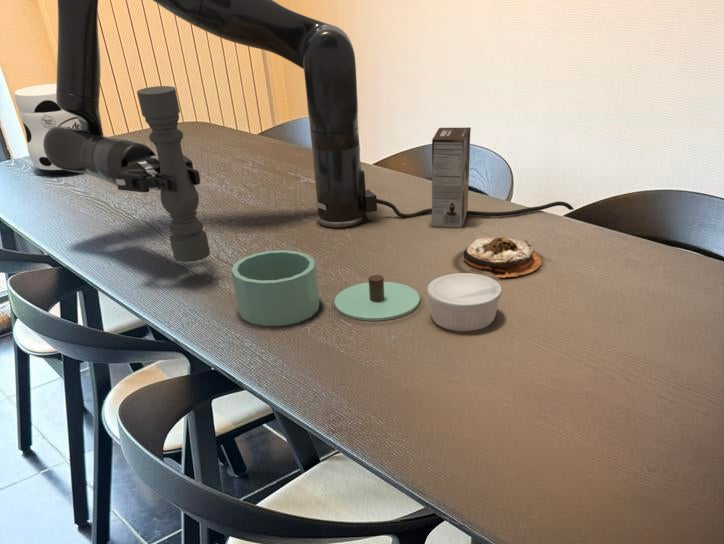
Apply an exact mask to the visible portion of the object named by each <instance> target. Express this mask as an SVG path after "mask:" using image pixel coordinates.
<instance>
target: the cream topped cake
mask: <svg viewBox="0 0 724 544" xmlns="http://www.w3.org/2000/svg"><path fill="white" fill-rule="evenodd" d="M534 250H535V249H534V247H533V244H530V243H529V240H526V239H520V238H517V237H512V236H490V237H489V236H488V237H480V238H476V239H474V240H473V241H471V242H470V243H468V245H467V246H466V248H465V250H464V251H463V259H464V260H463V262H464V263H465V264H466V265H468V266H469V267H471V268H473V269H478V270H481V271H485V272H489V273H490V274H492V275H493V276H494V277H496V278H497V279H502V278H503V279H505V278H507V277H508V278H511V277H519V276H524V275H527V274H530V273H533V272H534V271H536V270H538V268H539V267H540V266H541V264H542V258H541V257H540V256H539V254H538V253H536V252H535V251H534Z"/></svg>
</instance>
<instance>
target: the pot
mask: <svg viewBox="0 0 724 544" xmlns="http://www.w3.org/2000/svg"><path fill="white" fill-rule="evenodd" d="M230 272H231V277H232V282H233V289H234V292H235V293H234V294H235V299H236V303H237V304H236V305H237V310H238V314H239V315H240V317H241V319H242V320H243V321H245V322H248V323H250V324H252V325H257V326H262V327H284V326H289V325H293V324H297V323H301V322H303V321H305V320H308V319H310V318H312V317H313V316H314V315H315V314H316V313H317V312H318V311H319V310H320V308H319V307H320V302H321V301H320V294H319V284H318V274H317V264H316V260H315V259H314V258H313V257H312V256H311V255H310V254H307V253H304V252H302V251H296V250H288V249H284V250H283V249H282V250H281V249H279V250H267V251H262V252H257V253H253V254H251V255H247V256H244V257H242V258H240V259H239V260H237V261H236V262H235V263H234V264H233V266H232V268H231V271H230Z"/></svg>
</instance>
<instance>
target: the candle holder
mask: <svg viewBox="0 0 724 544" xmlns="http://www.w3.org/2000/svg"><path fill="white" fill-rule="evenodd" d="M136 95H137V98H138V99H137V100H138V102H139V107H140V112H141V115H142V117H144V119H145V123H147V124H148V126H149V128H150V129H151V130H152V131H151V132H150V134H149V135H148V139H149V141H150V142H151V143H153V146H155V149H156V155H157V156H158V158H159V163H160V173H161V174H163V175H168V176H171V177H174V179H175V182H176V187H177V191H176V192H173V193H172V192H169V191H165V190H162V189H160V202H161V205H162V207H163V208H164V210H165V211H166V212H167V213H169V217H170V218H171V221H170V225H169V227H168V231H169V233H170V235H169V241H170V246H171V250H172V254H173V258H174V260H176V261H178V262H181V263H192V262H198V261H202V260H205V259H207V258H208V257H209V256H210V255H211V249H210V245H209V240H208V235H207V232H206V231H205V230H204V223H203V222H202V221H201V220H200V219H199V218H198V217H197V212H198V211H197V209H198V207H199V202H200V196H199V193H198V189H197V188H196V185H193V183H192V180H191V177H190V175H189V172H188V169H187V167H186V165H185V162H184V158H183V155H184V154H183V148H182V144H181V143H182V140H183V138H184V132H182V131H181V130H180V129H179V128H178V124H179V120H180V113H181V109H180V105H179V99H178V95H177V90H176V87H175V86H170V85H157V86H148V87H145V88H140V89H139V90H137V91H136Z"/></svg>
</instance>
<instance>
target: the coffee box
mask: <svg viewBox="0 0 724 544" xmlns="http://www.w3.org/2000/svg"><path fill="white" fill-rule="evenodd" d="M471 130H472V127H438V129H437V130H436V132H435V134H434V136H433V137H432V139H431V208H432V212H431V227H432V228H433V227H434V228H435V227H438V228H440V227H441V228H462V227H463V226H464V223H465V221H466V218H467V215H466V213H467V211H469V209H468V208H469V185H470V182H469V180H470V155H471V154H470V151H471Z"/></svg>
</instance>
